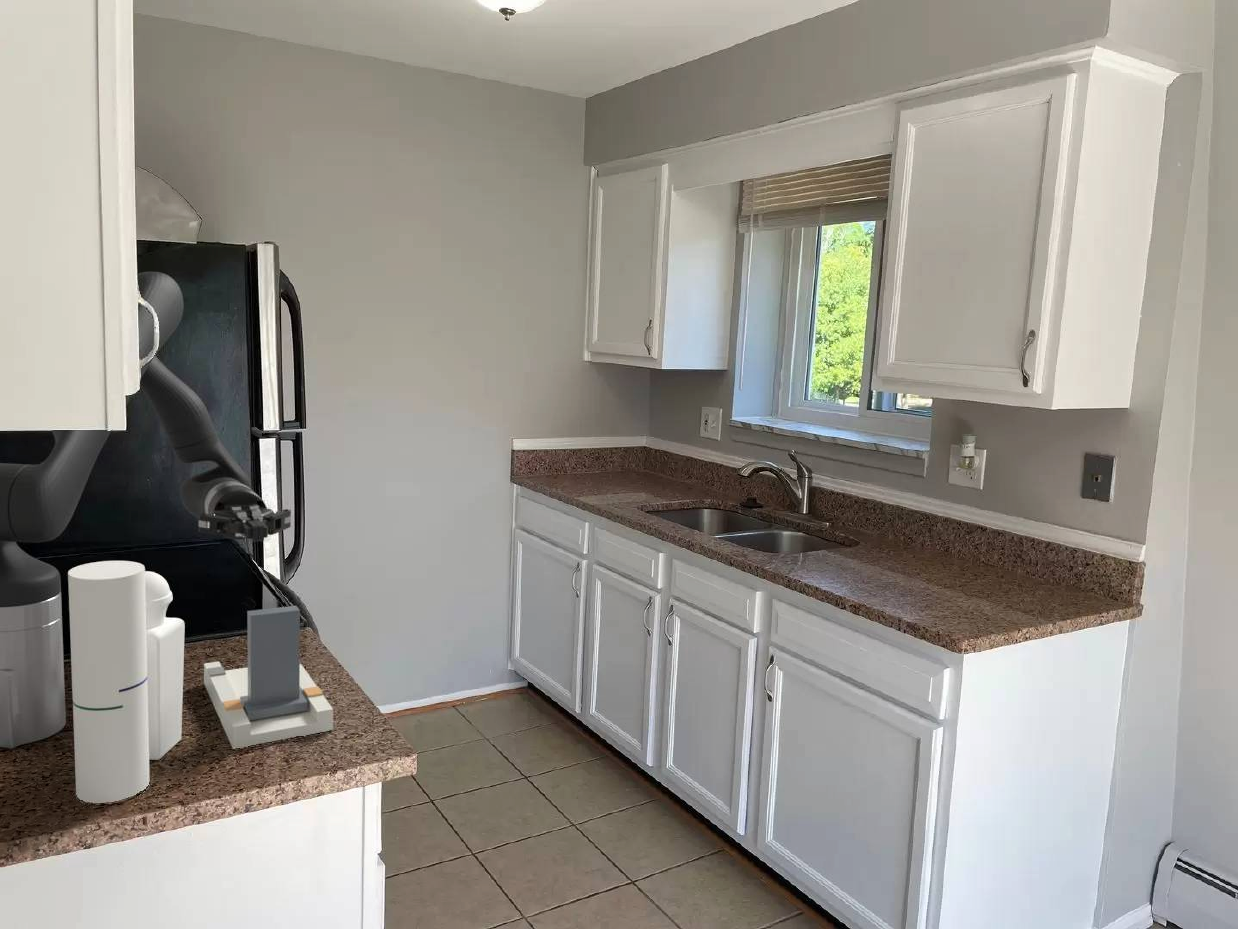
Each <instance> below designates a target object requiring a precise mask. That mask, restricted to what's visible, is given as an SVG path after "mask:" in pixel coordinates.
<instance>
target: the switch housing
mask: <svg viewBox="0 0 1238 929" xmlns="http://www.w3.org/2000/svg"><path fill="white" fill-rule="evenodd" d="M203 685H204V688H206V691H207V693H208V696H209V699H210V700H211V703H212V705H213V707H214V709H215V712H216V714H217V716H218V718H220V719H219V721H220V724H221V725H222V727H223V731H224V732H225V734H226V737H227V739H228V742H229V743H230V746H231V748H232V750H233V749H235V748H240V749H244V747H246V748H249V747H248V746H251V745H256V744H259V743H264V742H271V741H276V740H281V739H285V738H290V737H296V736H304V737H307V736H306V735H310V734H315V733H319V732H325V731H329V730H333V731H334V708H333V706H331V704H330V703H329V700H327V698H326V697H325V695H324V691H322V690H321V688H320V686H317V684H316V683H315V681H314V679H312V677H311V675H309V673H308V672H307V670H306V669H305V667H304V666H303V665H302V663H301V660H300V681H299V689H300V691H301V692H302V694H303V695H304V697H305V698H306V700H307V701H308V710H307V711H302V712H296V713H290V714H284V715H278V716H273V717H267V718H261V719H255V720H250V721H249V719H248V717H247V715H246V713H245V711H244V710H243V705H242V703H241V701H240V697H242V696H248V666H247V667H241V668H234V669H228V670H227V669H226V670H225V668H224V666H223V665H221V662H220V661H213V662H206V663H203ZM315 735H316V734H315ZM310 736H311V735H310ZM256 746H257V745H256ZM251 747H252V746H251ZM235 750H236V749H235Z"/></svg>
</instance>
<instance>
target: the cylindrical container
mask: <svg viewBox="0 0 1238 929" xmlns="http://www.w3.org/2000/svg"><path fill="white" fill-rule="evenodd" d="M145 571H146V568H145V565H144V564H142V563H140V562H136V561H130V560H102V561H96V562H89V563H84V564H80V565H77V566H75V567H72V568H71V569H69V570H68V572H67V581H68V598H69V599H68V611H69V631H70V633H69V634H70V636H69V637H70V661H71V662H70V664H71V688H72V689H71V690H72V691H71V692H72V693H71V694H72V714H73V740H74V743H73V744H74V748H73V749H74V769H75V770H74V771H75V772H74V773H75V774H74V775H75V776H74V777H75V796H76V795H77V797H78V798H79V799H80V800H83V801H85V802H90V803H91V802H92V803H105V802H114V801H119V800H122V799H125V798H128V797H131V796H134V795H136V794H137V793H139V792H140V791H143V790H144V789H146V787H147V786H148V785H149V786H150V784H149V782H150V760H149V731H148V689H147V643H146V599H145ZM146 790H147V789H146ZM77 797H76V798H77Z"/></svg>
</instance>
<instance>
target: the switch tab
mask: <svg viewBox="0 0 1238 929" xmlns="http://www.w3.org/2000/svg"><path fill="white" fill-rule="evenodd" d="M246 614H247V616H246V617H247V627H246V628H247V631H246V632H247V634H246V635H247V667H248V696H242V697H240V701H241V703H242V705H243V710H244V711H245V713H246V715H247V717H248V719H249V721H250V720H255V719H261V718H267V717H273V716H278V715H284V714H290V713H296V712H302V711H307V710H308V701H307V700H306V698H305V697H304V695H303V694H302V692H301V691H300V689H299V681H300V661H301V659H300V657H301V655H300V654H301V652H300V649H301V643H300V642H301V640H300V639H301V636H300V635H301V632H300V631H301V629H300V628H301V626H300V625H301V622H300V621H301V610H300V609H299V607H298V606H297V605H292V606H291V605H290V606H281V607H280V606H279V607H274V608H273V607H272V608H263V609H255V610H254V609H253V610H247V612H246Z"/></svg>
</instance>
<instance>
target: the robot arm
mask: <svg viewBox="0 0 1238 929" xmlns="http://www.w3.org/2000/svg"><path fill="white" fill-rule="evenodd" d="M137 274H138V285H139V291H140V294H141V297H142V298H143V299H144V300H145V301H148V303H149V304H150V305H151V306H152V307H154V310H155V312H156V313H157V317H158V321H159V331H160V341H159V347H158V350H157V351H156V353H155V355H154V357H153V358H152V359H151V360H150V361H149V362H148V363H146V364H145V365H144V366H142V368H141V382H140V385H139V386H140V388H141V390H142V392H143V393H144V394H145V396H146V398H147V399H148V401H149V402H150V404H151V406H152V408H153V409H154V411H155V414H156V416H157V417H158V420H159V422H160V425H161V426H162V429H163V431H164V433H165V436H166V437H167V440H168V442H169V444H170V446H171V449H172V450H173V454H174V455H175V457H176V458H177V460H178V461H179V462H181V463H183V464H193V463H195V464H196V463H200V462H214V463H215V464H216V465H217V466H216V467H214V468H211V469H208V470H206V471H203V472H200V473H198V474H195V475H193V476H191V477H189V478H186V480H184V481H183V483H182V484H181V486H180V493H179V494H180V499H181V502H182V504H183V506H184V507H185V509H186V510H187V511H188V512H189V513H190V514H191V515H192V516H194V518H195V517H196V518H197V519H198V532H199V533H201V534H209V535H214V536H221V537H224V538H228V539H230V540H235V541H242V540H243V541H244V540H246V539H249V540H250V541H251V542H252V543H253V542H255V543H256V542H264V541H265V539H266V538H268V536H273V535H276V534H277V533H280V532H282V531H284V530H286V529H289V528H291V527H292V526H291V523H292V522H291V520H292V519H291V518H292V516H291V515H292V512H291V511H292V510H291V509H288V508H286V509H282V510H277V511H274V510H273V509H271V508H267V505H266V503H265V501H264V500H263V498H261V497H260V496H259V494H257V493H256V492H255V491H254V490H253V489H252V483H251V481H250V478H249V477H248V476H247V474H246V472H245V471H244V470H243V469H242V468H241V467H240V465H239V464H238V463H237V462H236V461H235V459H233V457H232V456H231V455H230V453H229V452H228V450H227V449H226V448H225V446H224V444H223V443H222V442H221V439H220V437H219V435H218V433H217V431H216V428H215V426H214V424H213V421H212V418H211V416H210V414H209V412H208V409H207V407H206V406H205V404H204V402H203V401H202V399H201V398H200V397H199V395H198V394H197V393H196V392H195V391H194V390H193V389H191V387H189V386H188V385H187V384H186V383H185V382H183V381H182V380H181V379H180V378H179V377H177V376H176V375H175V374H174V373H173V372H172V371H170V369H169V368H168V367H166V365H164V364H163V363H162V362H161V360H160V359H159V358H158V357H157V356H156V355H157V353H158V352H159V351H160V349H161V348H162V347H163V345H164V344H166V342H167V340H169V338H170V337H171V336H172V335H173V333H174V332H175V331H176V329H177V328H178V326H179V324H180V323H181V320H182V318H183V313H184V297H183V292H182V290H181V288H180V286H179V284H178V283H177V282H176V281H175V279H174V278H172V277H171V276H169V275H168V274H166V273H163V272H162V271H161V272H160V271H143V272H139V273H137ZM153 335H154V322H153V318H152V315H151V313H149V312H148V310H147V309H146V307H144V306H142V305H140V307H139V350H140V359H141V360H142V359H143V358H145V357H146V356H148V354H149V352H150V351H151V350H152V347H153ZM132 396H133V394H132V395H129V396H127V397H126V407H127V405H128V403H129V402H130V400H131V397H132ZM51 432H52V434H53V436H54V441H55V444H54V446H53V448H52V451H51V452H50V453H49V455H48V456H47V458H46V459H45V460H44V461H43V462H40V463H38V464H30V463H29V464H23V463H3V462H0V748H5V749H14V748H17V747H19V746H20V745H25V744H31V743H33V742H34V743H35V742H37V741H41V740H44V739H46V738H48V737H49V738H50V737H51V736H53V735H55V734H57V733H59V732H60V731H62V730H63V728H64V727H65V726H66V723H67V719H66V718H67V716H66V712H67V711H66V690H65V668H64V665H65V664H64V662H65V661H64V643H63V642H64V637H63V616H62V614H63V613H62V612H63V611H62V584H61V582H62V581H61V574H60V572H59V570H58V569H57V568H56V567H55V566H53V565H51V564H49V563H46V562H44V561H42V560H39V559H37V558H36V557H33V556H32V555H30V554H28V553H26V552H25V551H24V550H23V549H22V548H21V547H20V546H19V545H18V544H17V542H18V543H44V542H51V541H53V540H55V539H56V538H58V537H60V536H61V534H62V533H63V532H64V531H65V530H66V528H67V526H68V525H69V523H70V522H71V520H72V518H73V516H74V514H75V513H74V512H75V511H76V509H77V506H78V504H79V502H80V500H81V497H82V494H83V492H84V490H85V488H86V484H87V482H88V479H89V477H90V475H91V472H92V470H93V468H94V464H95V463H96V461H97V459H98V456H99V455H100V452H101V451H102V449H103V447H104V445H105V443H106V442H107V439H108V437H109V435H111V432H112V431H107V430H51Z"/></svg>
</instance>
